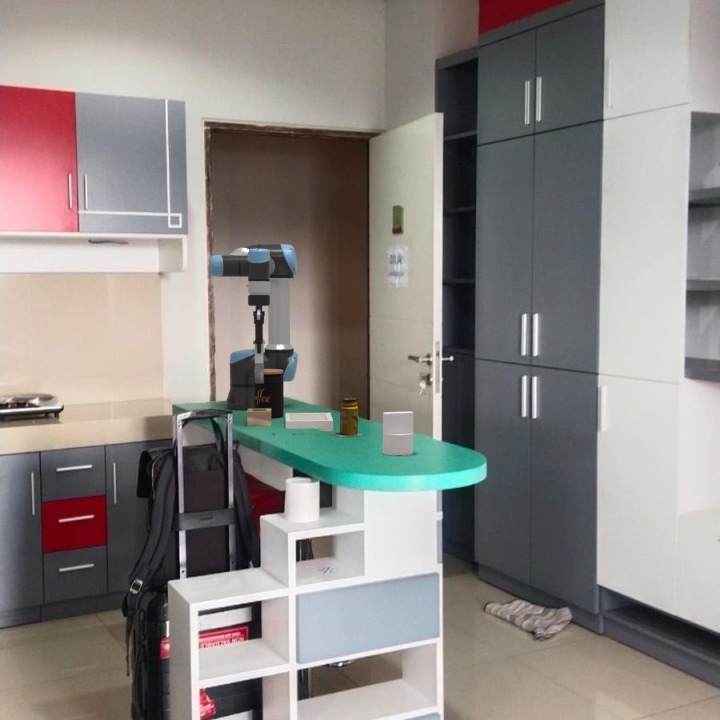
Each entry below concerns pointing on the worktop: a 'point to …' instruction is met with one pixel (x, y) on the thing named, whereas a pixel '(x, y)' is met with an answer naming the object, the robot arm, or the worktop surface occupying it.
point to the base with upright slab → (398, 433)
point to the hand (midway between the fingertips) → (259, 362)
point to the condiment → (348, 418)
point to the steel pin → (259, 369)
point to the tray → (309, 421)
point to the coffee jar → (270, 392)
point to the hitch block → (259, 417)
